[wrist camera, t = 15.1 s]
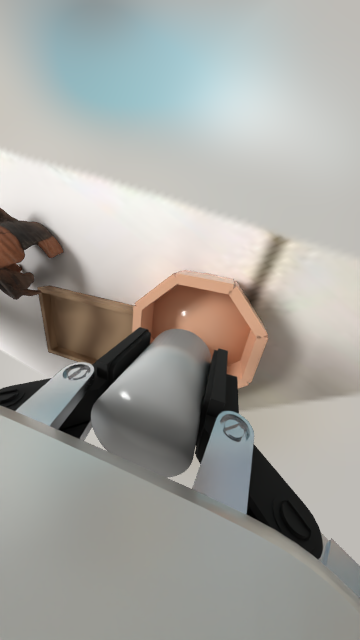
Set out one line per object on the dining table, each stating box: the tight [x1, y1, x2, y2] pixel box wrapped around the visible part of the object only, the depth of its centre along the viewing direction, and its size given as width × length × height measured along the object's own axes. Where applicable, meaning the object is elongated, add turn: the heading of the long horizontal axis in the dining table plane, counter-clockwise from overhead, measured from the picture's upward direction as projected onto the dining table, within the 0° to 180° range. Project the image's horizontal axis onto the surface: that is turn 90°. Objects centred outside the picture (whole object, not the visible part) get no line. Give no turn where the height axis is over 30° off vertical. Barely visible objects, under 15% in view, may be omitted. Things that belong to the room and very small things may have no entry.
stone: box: [91, 329, 211, 477], centre depth 9 cm, size 4×4×6 cm
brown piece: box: [0, 208, 64, 300], centre depth 23 cm, size 12×10×8 cm
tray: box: [37, 286, 133, 365], centre depth 27 cm, size 16×11×2 cm
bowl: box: [132, 270, 268, 389], centre depth 21 cm, size 14×14×4 cm
